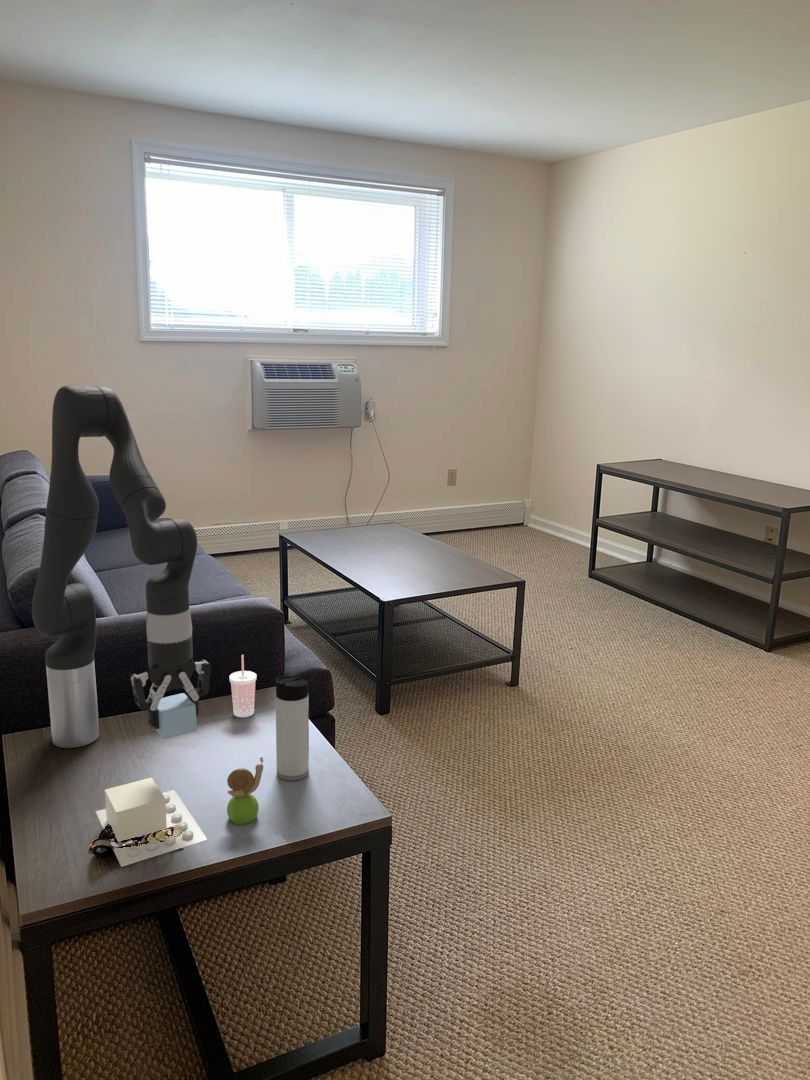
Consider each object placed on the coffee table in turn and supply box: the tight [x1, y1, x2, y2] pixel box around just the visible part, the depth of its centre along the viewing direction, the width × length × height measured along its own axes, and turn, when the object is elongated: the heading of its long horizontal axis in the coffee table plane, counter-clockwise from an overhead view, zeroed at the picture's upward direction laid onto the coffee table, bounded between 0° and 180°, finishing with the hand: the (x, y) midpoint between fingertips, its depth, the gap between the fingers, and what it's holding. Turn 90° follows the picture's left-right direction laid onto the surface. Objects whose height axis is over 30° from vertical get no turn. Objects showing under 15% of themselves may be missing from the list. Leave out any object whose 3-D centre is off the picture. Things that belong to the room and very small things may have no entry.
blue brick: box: [155, 692, 198, 741], centre depth 142 cm, size 6×6×5 cm
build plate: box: [94, 789, 208, 868], centre depth 137 cm, size 18×14×2 cm
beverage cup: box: [229, 654, 258, 718], centre depth 181 cm, size 6×6×14 cm
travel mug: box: [275, 675, 310, 782], centre depth 154 cm, size 6×7×20 cm
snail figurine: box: [226, 756, 264, 825], centre depth 139 cm, size 5×6×12 cm
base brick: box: [104, 777, 167, 842], centre depth 136 cm, size 8×8×6 cm
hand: (173, 722), depth 142 cm, fingers closed on blue brick, 6 cm apart
